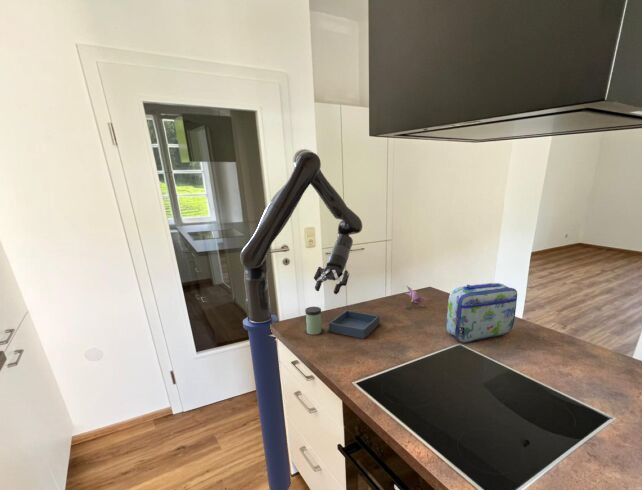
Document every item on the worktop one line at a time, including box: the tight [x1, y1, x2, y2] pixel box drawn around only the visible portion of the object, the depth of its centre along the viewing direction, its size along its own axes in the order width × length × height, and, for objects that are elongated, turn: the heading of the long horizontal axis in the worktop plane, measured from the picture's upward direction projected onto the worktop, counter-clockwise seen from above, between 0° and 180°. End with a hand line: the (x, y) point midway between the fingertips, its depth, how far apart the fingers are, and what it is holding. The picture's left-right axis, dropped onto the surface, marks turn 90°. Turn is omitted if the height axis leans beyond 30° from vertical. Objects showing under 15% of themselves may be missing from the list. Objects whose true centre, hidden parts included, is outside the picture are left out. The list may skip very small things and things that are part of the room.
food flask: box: [304, 306, 323, 336], centre depth 141 cm, size 6×6×10 cm
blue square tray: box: [328, 309, 380, 340], centre depth 145 cm, size 15×15×4 cm
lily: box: [405, 285, 428, 309], centre depth 168 cm, size 12×12×10 cm
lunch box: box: [446, 282, 518, 344], centre depth 137 cm, size 26×11×21 cm, turn 108°
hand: (325, 291), depth 146 cm, fingers open, 8 cm apart
